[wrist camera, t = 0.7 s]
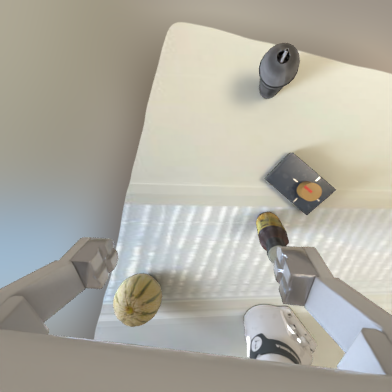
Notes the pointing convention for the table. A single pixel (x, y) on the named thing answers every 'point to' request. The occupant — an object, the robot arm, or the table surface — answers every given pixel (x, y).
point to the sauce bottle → (271, 233)
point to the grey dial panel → (297, 182)
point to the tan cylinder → (309, 191)
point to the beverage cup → (278, 69)
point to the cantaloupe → (137, 300)
